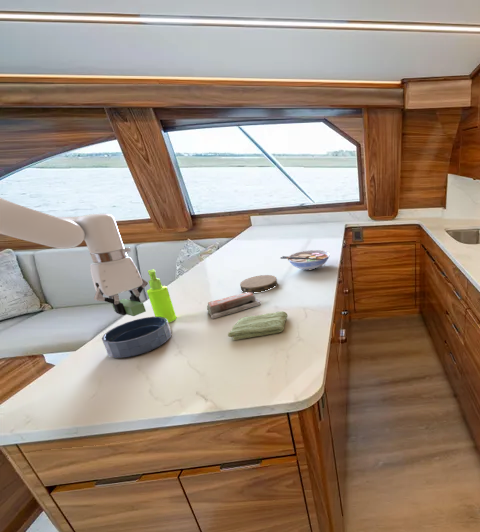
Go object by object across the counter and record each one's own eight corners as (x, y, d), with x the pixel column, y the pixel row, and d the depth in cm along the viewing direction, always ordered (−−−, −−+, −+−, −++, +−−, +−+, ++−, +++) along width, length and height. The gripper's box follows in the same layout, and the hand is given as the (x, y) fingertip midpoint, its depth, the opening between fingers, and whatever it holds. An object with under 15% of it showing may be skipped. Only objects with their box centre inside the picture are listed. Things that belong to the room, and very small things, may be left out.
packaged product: (209, 308, 111) (204, 300, 118) (212, 319, 113) (207, 311, 120) (259, 294, 122) (252, 287, 129) (261, 305, 124) (254, 297, 131)
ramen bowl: (339, 262, 175) (338, 249, 172) (321, 276, 154) (319, 261, 151) (301, 260, 181) (299, 248, 178) (278, 273, 160) (276, 259, 157)
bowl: (128, 364, 88) (121, 347, 86) (97, 353, 94) (90, 337, 92) (183, 336, 102) (178, 320, 100) (153, 328, 108) (148, 313, 106)
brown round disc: (260, 279, 153) (258, 273, 152) (284, 282, 147) (283, 277, 146) (233, 291, 139) (232, 285, 138) (259, 295, 133) (258, 289, 132)
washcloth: (238, 322, 110) (237, 315, 109) (288, 316, 114) (287, 309, 113) (227, 342, 98) (225, 333, 97) (283, 334, 102) (282, 326, 101)
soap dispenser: (174, 314, 118) (160, 266, 112) (177, 320, 113) (162, 271, 107) (156, 319, 114) (140, 270, 108) (158, 325, 110) (141, 275, 103)
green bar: (146, 311, 94) (143, 302, 93) (133, 316, 91) (130, 307, 90) (127, 306, 97) (124, 298, 96) (114, 311, 94) (111, 303, 93)
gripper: (134, 247, 96) (151, 299, 102) (65, 263, 82) (90, 321, 88) (148, 249, 94) (165, 302, 100) (80, 266, 79) (104, 326, 85)
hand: (129, 310), depth 94 cm, fingers closed on green bar, 3 cm apart
